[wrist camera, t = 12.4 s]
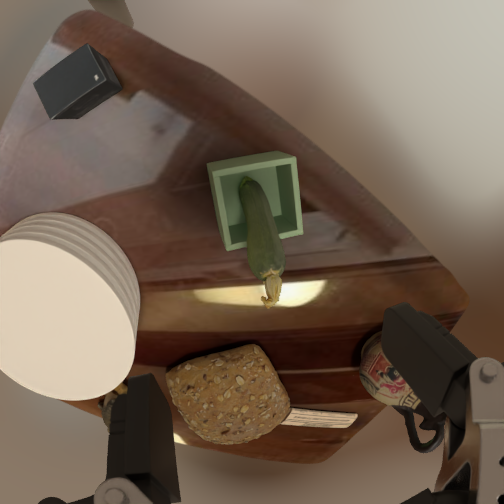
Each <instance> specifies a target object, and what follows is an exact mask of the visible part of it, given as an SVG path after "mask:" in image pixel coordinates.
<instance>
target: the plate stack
mask: <svg viewBox="0 0 504 504" xmlns="http://www.w3.org/2000/svg"><path fill="white" fill-rule="evenodd" d="M139 310H140V290H139V285H138V281H137V277H136V275H135V272H134V269H133V267H132V265H131V263H130V261H129V260H128V258H127V256H126V255H125V253H124V252H123V251H122V249H121V248H120V247H119V246H118V244H117V243H116V242H115V241H114V240H113V239H112V238H111V237H110V236H109V235H108V234H106V233H105V232H104V231H103V230H101V229H100V228H98V227H97V226H95V225H94V224H92V223H90V222H88V221H86V220H84V219H82V218H79V217H77V216H74V215H70V214H66V213H59V212H46V213H39V214H35V215H32V216H29V217H27V218H25V219H23V220H21V221H20V222H18V223H17V224H16V225H14V226H13V227H12V228H11V229H10V230H8V231H7V232H6V233H5V234H4V235H2V236H1V237H0V370H1V371H3V372H4V373H5V374H6V375H7V376H9V377H10V378H11V379H13V380H14V381H16V382H17V383H19V384H20V385H22V386H24V387H26V388H28V389H30V390H32V391H34V392H36V393H39V394H42V395H45V396H48V397H52V398H56V399H62V400H87V399H92V398H96V397H99V396H102V395H104V394H106V393H108V392H110V391H112V390H113V389H115V388H116V387H117V386H118V385H119V384H120V383H121V382H122V381H123V380H124V379H125V377H126V376H127V374H128V373H129V371H130V369H131V366H132V363H133V360H134V354H135V343H136V334H137V326H138V318H139Z"/></svg>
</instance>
